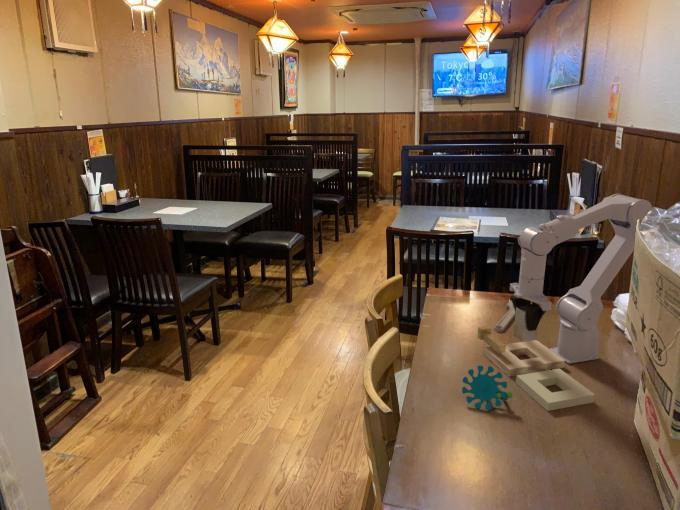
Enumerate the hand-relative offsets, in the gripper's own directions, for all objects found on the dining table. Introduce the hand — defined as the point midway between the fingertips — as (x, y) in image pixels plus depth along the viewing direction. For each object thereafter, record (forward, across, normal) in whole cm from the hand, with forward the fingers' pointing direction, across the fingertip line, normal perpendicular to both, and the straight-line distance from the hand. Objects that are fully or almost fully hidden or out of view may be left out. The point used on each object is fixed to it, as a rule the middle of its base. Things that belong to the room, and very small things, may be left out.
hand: (526, 326), depth 129 cm
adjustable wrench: (+10, -26, +12) cm, 31 cm away
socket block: (+10, 0, 0) cm, 10 cm away
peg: (+3, 0, 0) cm, 3 cm away
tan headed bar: (+7, -5, -6) cm, 10 cm away
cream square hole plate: (+10, +15, -2) cm, 18 cm away
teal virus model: (+10, +14, -19) cm, 26 cm away
